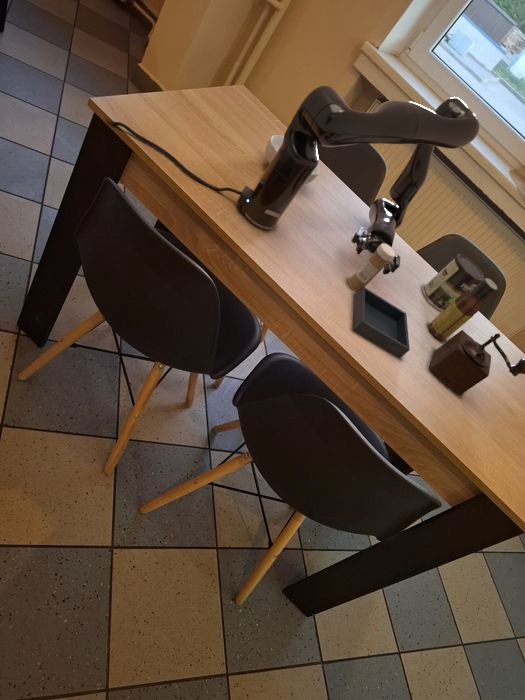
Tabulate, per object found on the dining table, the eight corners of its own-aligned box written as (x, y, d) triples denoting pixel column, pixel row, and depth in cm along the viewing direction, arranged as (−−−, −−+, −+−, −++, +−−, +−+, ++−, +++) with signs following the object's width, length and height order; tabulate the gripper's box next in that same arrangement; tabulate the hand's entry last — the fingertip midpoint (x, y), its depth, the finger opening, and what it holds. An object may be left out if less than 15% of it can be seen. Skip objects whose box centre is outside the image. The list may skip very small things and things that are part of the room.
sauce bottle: (444, 332, 139) (502, 286, 127) (444, 345, 135) (504, 298, 122) (426, 319, 138) (482, 271, 126) (426, 331, 134) (484, 283, 121)
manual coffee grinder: (427, 371, 122) (485, 326, 110) (434, 349, 130) (489, 306, 119) (474, 412, 122) (537, 373, 110) (478, 388, 130) (537, 349, 119)
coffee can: (453, 313, 150) (490, 282, 141) (433, 311, 144) (471, 279, 135) (435, 287, 155) (470, 255, 146) (416, 284, 149) (451, 251, 139)
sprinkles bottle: (364, 292, 129) (399, 256, 120) (353, 293, 126) (389, 256, 117) (354, 278, 130) (388, 242, 122) (344, 279, 127) (378, 242, 119)
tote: (352, 330, 115) (362, 321, 113) (353, 294, 125) (362, 285, 123) (399, 358, 119) (409, 350, 116) (397, 321, 129) (406, 313, 126)
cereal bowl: (314, 187, 152) (328, 168, 147) (292, 199, 139) (306, 179, 135) (274, 150, 153) (286, 130, 148) (248, 158, 140) (261, 137, 135)
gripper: (369, 210, 135) (360, 234, 123) (409, 241, 137) (404, 268, 124) (352, 230, 140) (342, 255, 127) (391, 260, 141) (385, 288, 129)
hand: (373, 261), depth 126 cm, fingers open, 8 cm apart
